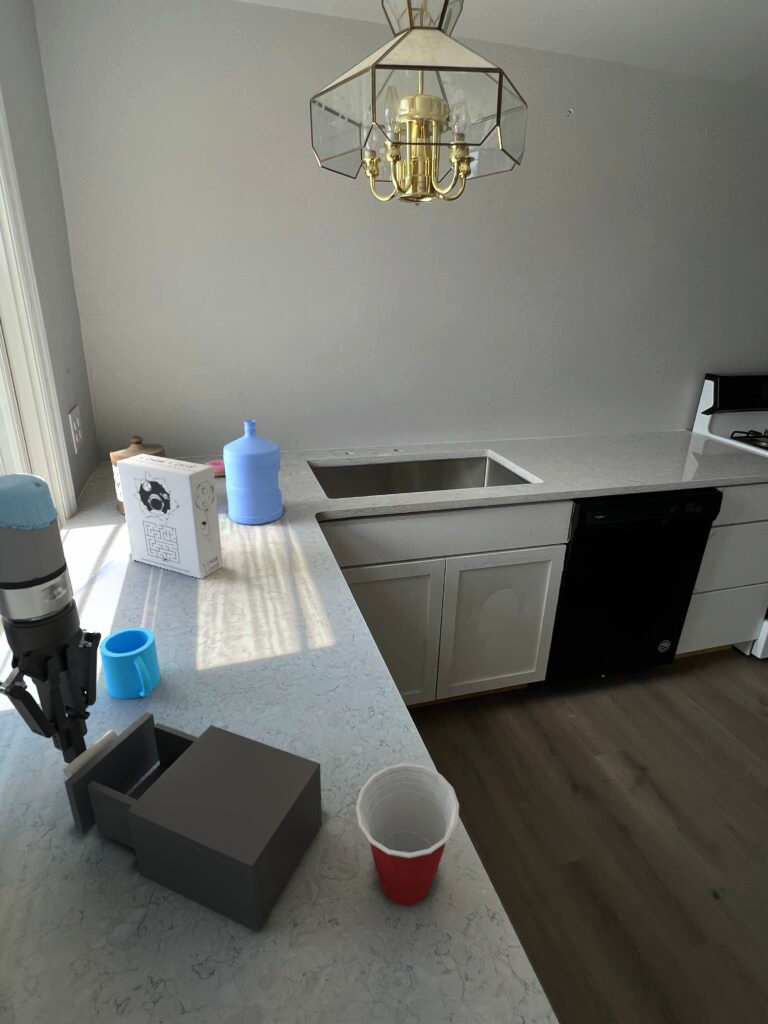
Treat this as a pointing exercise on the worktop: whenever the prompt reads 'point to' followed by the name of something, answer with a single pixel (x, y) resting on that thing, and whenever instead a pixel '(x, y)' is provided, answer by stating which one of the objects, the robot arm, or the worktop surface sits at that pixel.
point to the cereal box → (171, 514)
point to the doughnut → (217, 467)
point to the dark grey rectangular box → (228, 824)
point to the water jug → (253, 478)
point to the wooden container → (131, 451)
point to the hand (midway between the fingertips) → (76, 760)
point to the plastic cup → (407, 827)
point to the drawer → (120, 774)
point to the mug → (130, 663)
